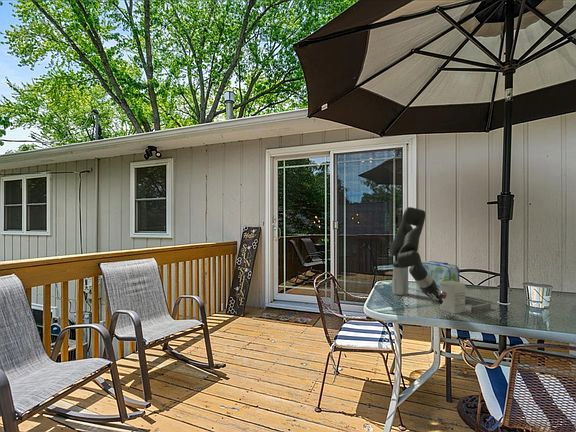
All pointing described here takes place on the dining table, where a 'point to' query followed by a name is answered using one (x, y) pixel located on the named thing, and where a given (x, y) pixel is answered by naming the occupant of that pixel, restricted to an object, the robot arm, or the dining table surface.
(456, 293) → the supplement box
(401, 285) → the robot arm
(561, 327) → the dining table surface
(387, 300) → the dining table surface
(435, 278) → the lunch box
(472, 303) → the tray
